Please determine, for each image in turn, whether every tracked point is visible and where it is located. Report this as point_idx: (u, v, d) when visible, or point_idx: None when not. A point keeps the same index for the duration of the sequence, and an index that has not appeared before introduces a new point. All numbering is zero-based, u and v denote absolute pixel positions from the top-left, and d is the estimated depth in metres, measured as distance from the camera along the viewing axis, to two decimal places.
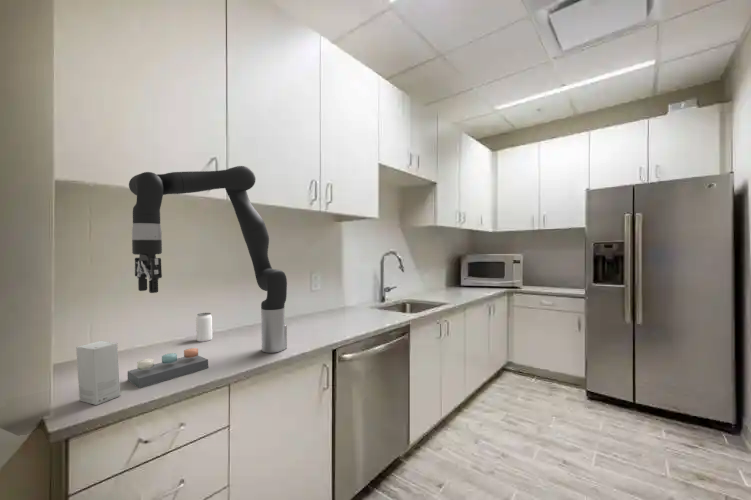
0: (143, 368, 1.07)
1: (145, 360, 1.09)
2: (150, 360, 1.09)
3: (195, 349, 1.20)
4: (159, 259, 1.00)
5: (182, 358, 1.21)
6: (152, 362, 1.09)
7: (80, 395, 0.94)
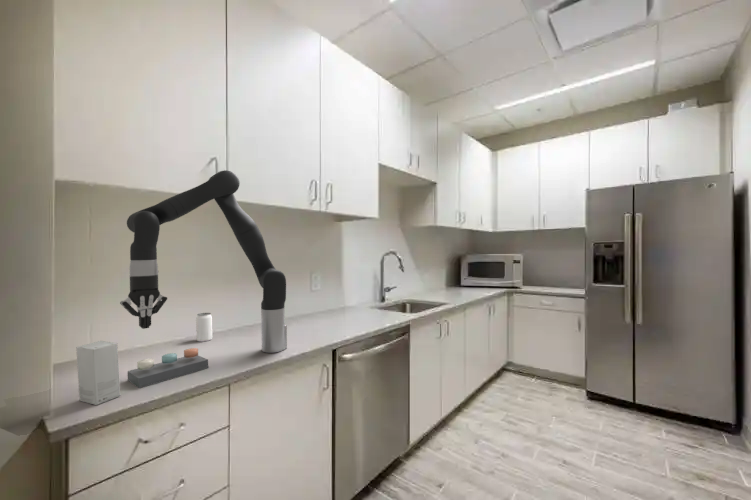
0: (143, 368, 1.07)
1: (145, 360, 1.09)
2: (150, 360, 1.09)
3: (195, 349, 1.20)
4: None
5: (182, 358, 1.21)
6: (152, 362, 1.09)
7: (80, 395, 0.94)
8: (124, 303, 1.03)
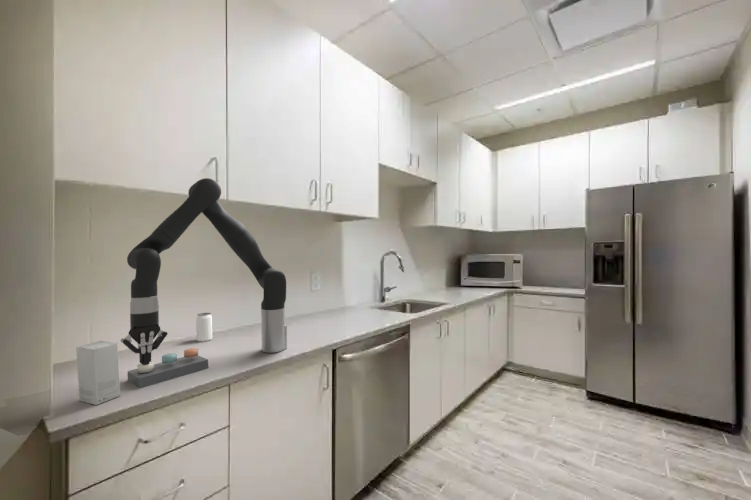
0: (143, 371, 1.07)
1: None
2: (150, 363, 1.09)
3: (195, 349, 1.20)
4: None
5: (182, 358, 1.21)
6: (152, 365, 1.09)
7: (80, 395, 0.94)
8: (125, 341, 1.03)
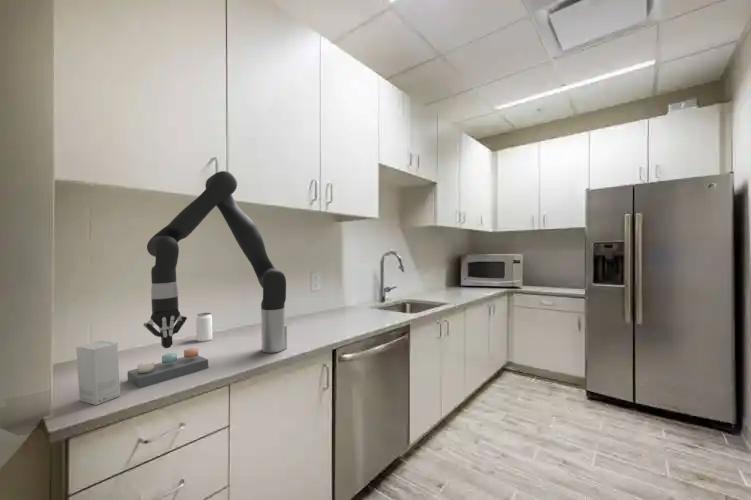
0: (143, 371, 1.07)
1: (145, 363, 1.09)
2: (150, 363, 1.09)
3: (195, 349, 1.20)
4: None
5: (182, 358, 1.21)
6: (152, 365, 1.09)
7: (80, 395, 0.94)
8: (147, 325, 1.08)
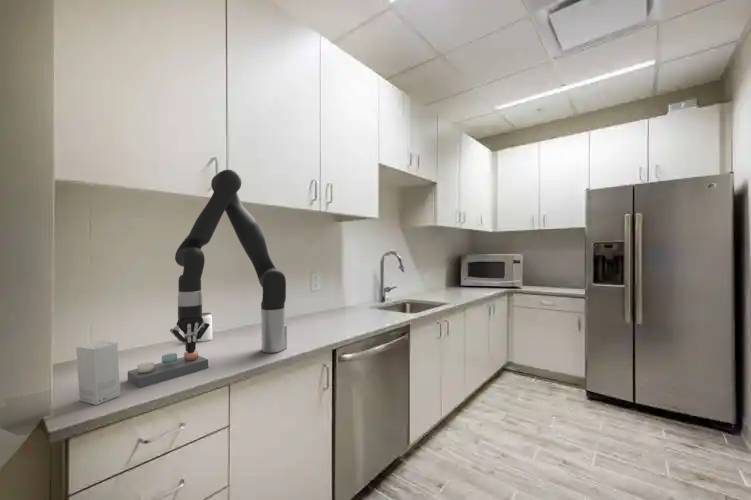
0: (143, 371, 1.07)
1: (145, 363, 1.09)
2: (150, 363, 1.09)
3: (195, 351, 1.20)
4: None
5: (182, 358, 1.21)
6: (152, 365, 1.09)
7: (80, 395, 0.94)
8: (174, 331, 1.14)
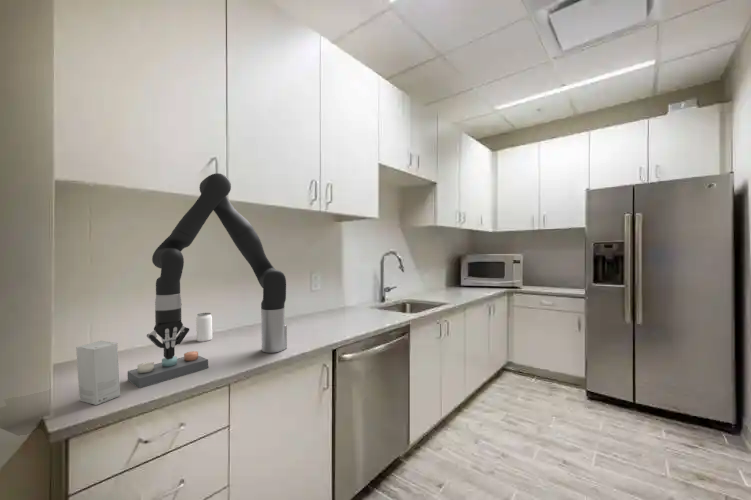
0: (143, 371, 1.07)
1: (145, 363, 1.09)
2: (150, 363, 1.09)
3: (195, 352, 1.20)
4: None
5: (182, 358, 1.21)
6: (152, 365, 1.09)
7: (80, 395, 0.94)
8: (150, 336, 1.09)
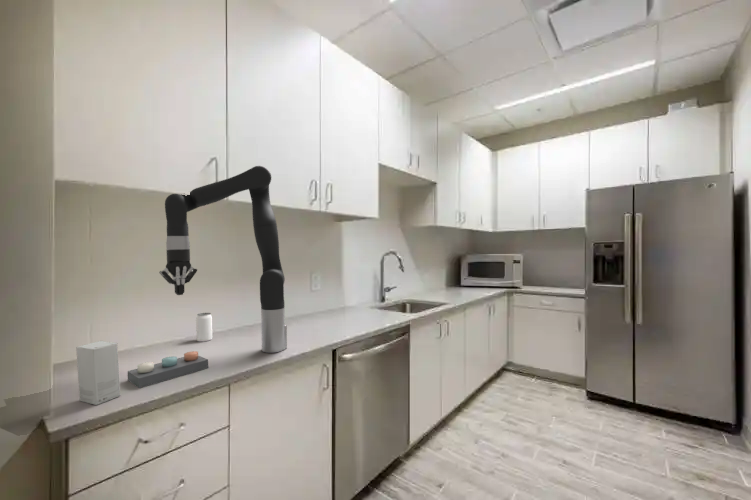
0: (143, 371, 1.07)
1: (145, 363, 1.09)
2: (150, 363, 1.09)
3: (195, 352, 1.20)
4: None
5: (182, 358, 1.21)
6: (152, 365, 1.09)
7: (80, 395, 0.94)
8: (163, 272, 1.21)
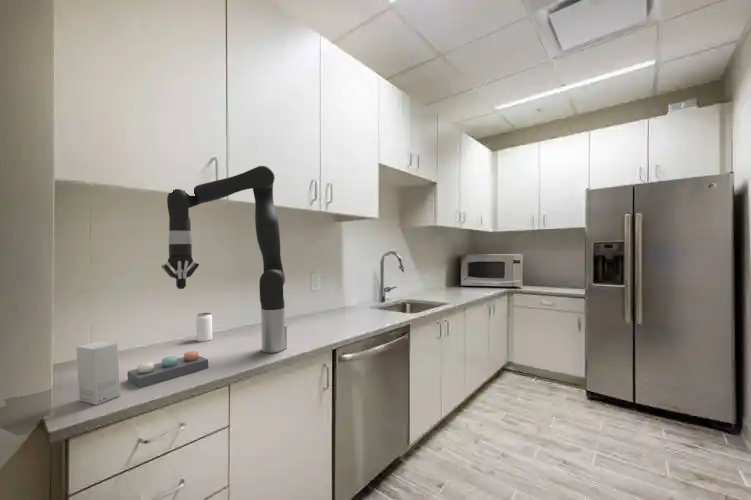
0: (143, 371, 1.07)
1: (145, 363, 1.09)
2: (150, 363, 1.09)
3: (195, 352, 1.20)
4: None
5: (182, 358, 1.21)
6: (152, 365, 1.09)
7: (80, 395, 0.94)
8: (165, 266, 1.23)
